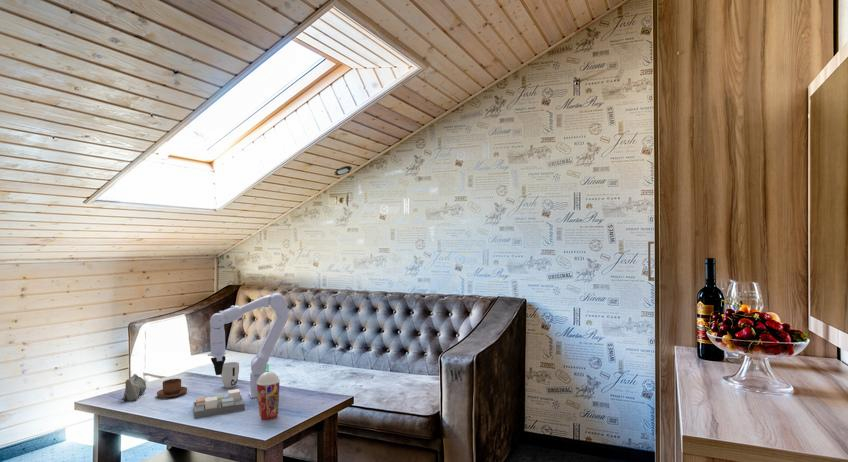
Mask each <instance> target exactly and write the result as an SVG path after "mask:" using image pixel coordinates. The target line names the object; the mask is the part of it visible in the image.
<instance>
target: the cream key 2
mask: <svg viewBox="0 0 848 462" xmlns="http://www.w3.org/2000/svg"><path fill="white" fill-rule="evenodd" d="M240 395H241V391H240V388H237V389H230V390H227V397H228V398H232V397H233V400H240Z"/></svg>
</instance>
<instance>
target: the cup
mask: <svg viewBox="0 0 848 462" xmlns="http://www.w3.org/2000/svg"><path fill="white" fill-rule="evenodd" d="M239 374H240V362H237V361H229V362H224V364H223V369H222V374H221V375H220V376H221V381H222V382H221V383H222V384H223V386H224V388H226V389H230V388H235V387H236V386H237V385H238V380H239Z"/></svg>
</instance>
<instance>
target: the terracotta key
mask: <svg viewBox="0 0 848 462" xmlns="http://www.w3.org/2000/svg"><path fill="white" fill-rule="evenodd" d="M205 398H209V397H208V396H205V397H198V398H195V402H196V406H202V405H205Z"/></svg>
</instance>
